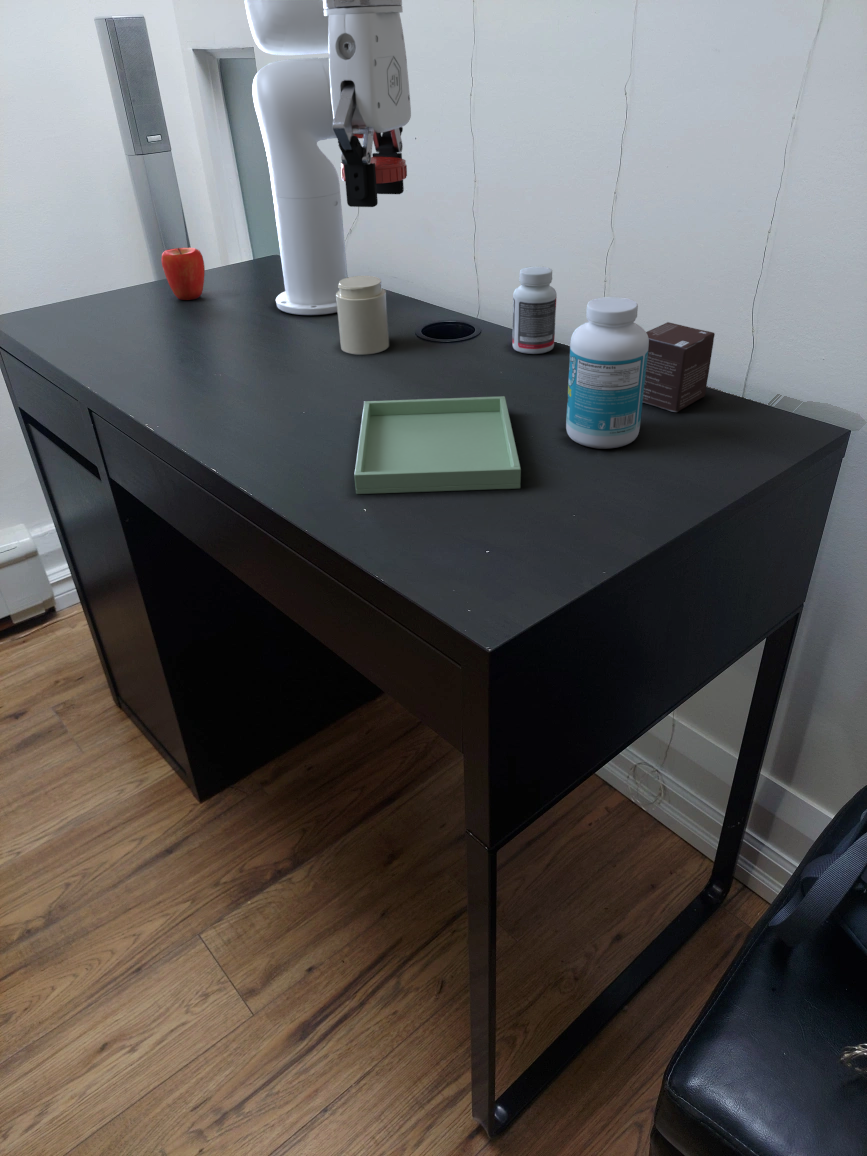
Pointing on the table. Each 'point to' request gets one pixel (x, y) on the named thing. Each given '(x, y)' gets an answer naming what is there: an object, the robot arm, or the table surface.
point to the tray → (436, 446)
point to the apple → (184, 272)
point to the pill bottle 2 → (607, 375)
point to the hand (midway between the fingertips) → (376, 198)
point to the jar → (362, 315)
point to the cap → (386, 169)
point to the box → (677, 366)
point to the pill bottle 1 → (534, 311)
